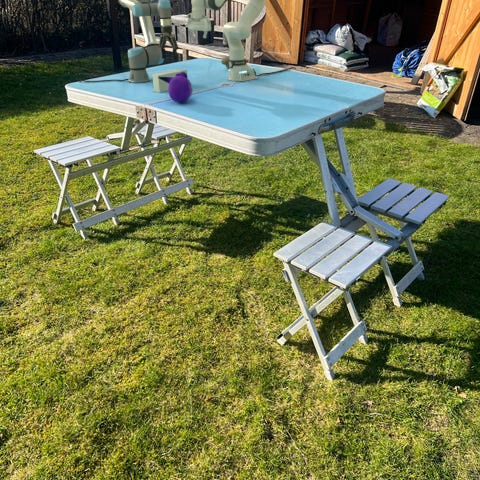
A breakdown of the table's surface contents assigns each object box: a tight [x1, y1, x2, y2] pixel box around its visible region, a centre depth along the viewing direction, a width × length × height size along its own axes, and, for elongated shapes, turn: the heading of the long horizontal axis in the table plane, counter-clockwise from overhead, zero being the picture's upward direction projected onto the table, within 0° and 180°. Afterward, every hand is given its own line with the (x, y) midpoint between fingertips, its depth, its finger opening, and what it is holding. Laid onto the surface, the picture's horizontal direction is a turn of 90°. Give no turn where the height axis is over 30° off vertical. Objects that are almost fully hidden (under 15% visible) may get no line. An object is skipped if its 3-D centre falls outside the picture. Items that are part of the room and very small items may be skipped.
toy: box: [158, 72, 193, 103], centre depth 279 cm, size 16×18×27 cm
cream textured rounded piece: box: [221, 54, 230, 71], centre depth 369 cm, size 21×12×15 cm, turn 120°
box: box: [151, 68, 189, 93], centre depth 311 cm, size 26×6×11 cm, turn 137°
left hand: (169, 59), depth 312 cm, fingers open, 13 cm apart
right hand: (200, 37), depth 311 cm, fingers open, 8 cm apart
